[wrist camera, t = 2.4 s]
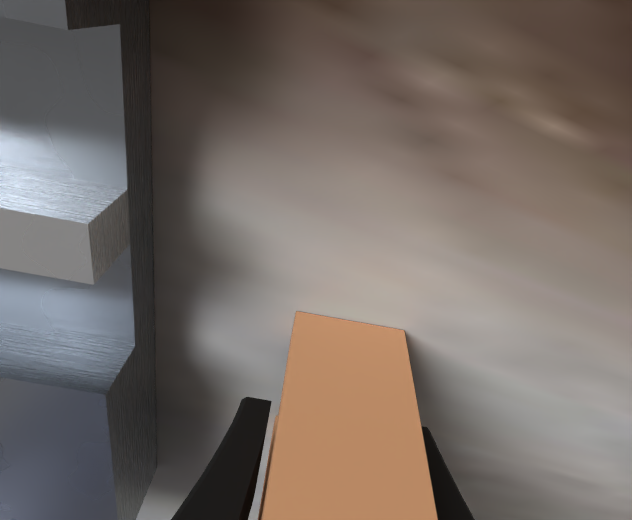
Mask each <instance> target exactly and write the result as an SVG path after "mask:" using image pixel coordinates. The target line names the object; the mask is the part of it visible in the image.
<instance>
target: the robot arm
mask: <svg viewBox="0 0 632 520" xmlns="http://www.w3.org/2000/svg"><path fill="white" fill-rule="evenodd" d="M270 406H271V401H268V400H262V399H256V398H250V397H246V398H244V399H242V400H241V403H240V406H239V409H238V411H237V413H236V415H235V418H234V420H233V422H232V424H231V426H230V428H229V430H228V432H227V433H226V435H225V437H224V439H223V441H222V443H221V444H220V446H219V448H218V450H217V451H216V453H215V454H214V456H213V458H212V459H211V461H210V463H209V464H208V466H207V468H206V469H205V471H204V472H203V474H202V476H201V477H200V479H199V480H198V482H197V483H196V485H195V486H194V488H193V489H192V491H191V492H190V493H189V495H188V496H187V498H186V499H185V501H184V502H183V504H182V505H181V506H180V508H179V509H178V511H177V512H176V514H175V515H174V516H173V518H172V519H171V520H248V517H249V513H250V509H251V506H252V502H253V498H254V494H255V488H256V483H257V478H258V472H259V467H260V461H261V456H262V450H263V445H264V439H265V434H266V428H267V423H268V417H269V412H270ZM421 428H422V433H423V439H424V445H425V450H426V456H427V462H428V467H429V473H430V479H431V484H432V490H433V496H434V501H435V507H436V513H437V518H438V520H474V518H473V516H472V514H471V512H470V511H469V509H468V507H467V505H466V503H465V501H464V500H463V498H462V496H461V494H460V492H459V490H458V488H457V486H456V484H455V482H454V480H453V478H452V476H451V474H450V472H449V470H448V468H447V466H446V464H445V462H444V460H443V458H442V456H441V454H440V452H439V450H438V448H437V445H436V443H435V441H434V439H433V437H432V435H431V433H430V431H429V429H428V428H427V427H422V426H421Z"/></svg>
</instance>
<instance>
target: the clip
mask: <svg viewBox="0 0 632 520" xmlns="http://www.w3.org/2000/svg"><path fill="white" fill-rule="evenodd" d="M258 520H438V518H437V513H436V507H435V501H434V496H433V490H432V484H431V479H430V473H429V467H428V462H427V456H426V450H425V445H424V439H423V433H422V428H421V422H420V417H419V411H418V405H417V400H416V394H415V388H414V383H413V377H412V371H411V366H410V360H409V354H408V349H407V343H406V337H405V332H404V330H399V329H394V328H388V327H382V326H377V325H371V324H366V323H360V322H354V321H349V320H343V319H337V318H332V317H326V316H321V315H315V314H309V313H304V312H298V311H296V315H295V320H294V325H293V330H292V335H291V340H290V346H289V353H288V359H287V365H286V371H285V377H284V384H283V390H282V396H281V402H280V408H279V415H278V416H276V418H275V423H274V428H273V433H272V438H271V444H270V450H269V456H268V462H267V468H266V474H265V480H264V486H263V492H262V498H261V504H260V509H259V515H258Z"/></svg>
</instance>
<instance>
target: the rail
mask: <svg viewBox="0 0 632 520" xmlns="http://www.w3.org/2000/svg"><path fill="white" fill-rule="evenodd" d="M156 468H157V456H156V398H155V339H154V280H153V221H152V162H151V103H150V44H149V0H0V520H136V517H137V515H138V512H139V510H140V507H141V505H142V502H143V500H144V497H145V495H146V493H147V490H148V488H149V485H150V483H151V480H152V478H153V475H154V473H155V470H156Z"/></svg>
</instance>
